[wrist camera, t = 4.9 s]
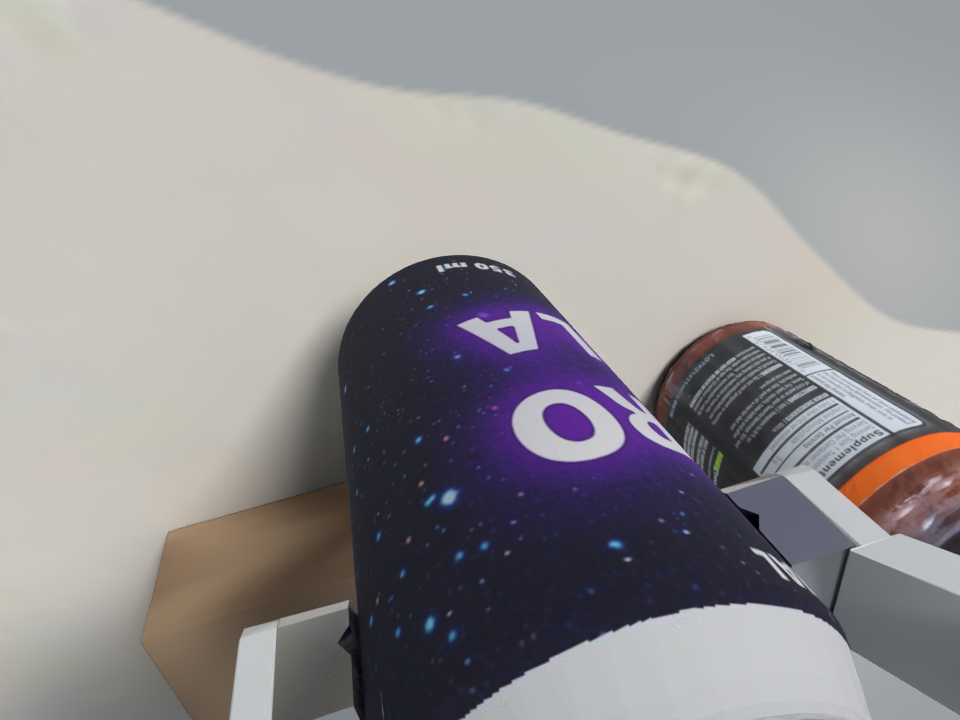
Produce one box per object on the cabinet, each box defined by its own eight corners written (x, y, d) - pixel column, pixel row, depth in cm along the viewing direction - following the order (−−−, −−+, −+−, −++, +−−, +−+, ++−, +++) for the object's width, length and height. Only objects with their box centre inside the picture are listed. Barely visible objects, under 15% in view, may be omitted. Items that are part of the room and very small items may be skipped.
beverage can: (548, 413, 18) (869, 924, 7) (357, 452, 17) (429, 1104, 6) (544, 228, 15) (1048, 638, 5) (316, 262, 14) (326, 876, 4)
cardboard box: (447, 453, 20) (478, 537, 17) (480, 622, 24) (511, 716, 21) (168, 532, 18) (140, 642, 15) (259, 697, 23) (253, 811, 19)
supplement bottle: (805, 394, 23) (1161, 636, 14) (680, 478, 24) (943, 773, 14) (767, 280, 20) (1193, 493, 11) (623, 379, 21) (913, 673, 11)
